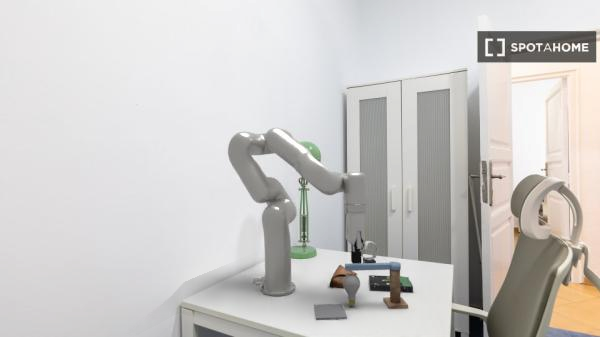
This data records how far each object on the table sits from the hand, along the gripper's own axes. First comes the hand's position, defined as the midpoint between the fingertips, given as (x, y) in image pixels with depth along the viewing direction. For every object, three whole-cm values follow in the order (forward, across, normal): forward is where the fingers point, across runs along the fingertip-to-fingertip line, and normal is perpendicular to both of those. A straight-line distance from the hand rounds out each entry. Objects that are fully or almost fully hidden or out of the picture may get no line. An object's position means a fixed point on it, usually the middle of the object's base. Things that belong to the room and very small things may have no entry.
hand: (356, 262), depth 106 cm
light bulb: (+12, +7, -3) cm, 14 cm away
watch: (+12, -31, +12) cm, 36 cm away
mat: (+12, +11, -11) cm, 19 cm away
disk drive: (+12, -8, +14) cm, 20 cm away
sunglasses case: (+12, -16, -2) cm, 20 cm away
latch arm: (0, +7, +4) cm, 8 cm away
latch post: (+12, +7, +11) cm, 17 cm away
